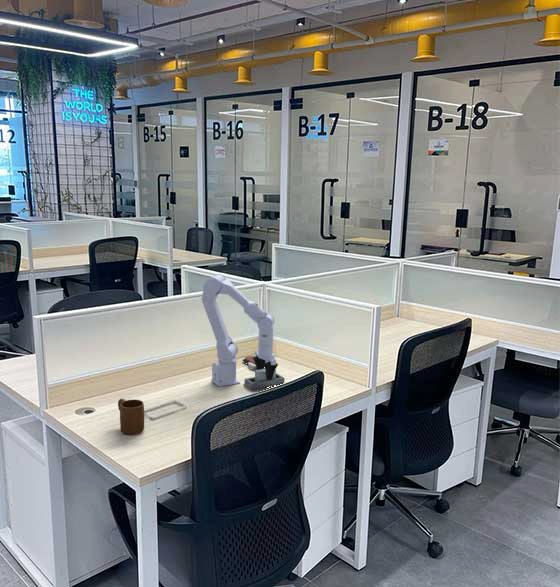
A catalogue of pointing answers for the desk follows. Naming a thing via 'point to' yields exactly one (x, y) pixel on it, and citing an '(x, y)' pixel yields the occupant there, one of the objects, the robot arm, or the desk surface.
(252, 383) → the grey rectangular tray
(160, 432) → the desk surface
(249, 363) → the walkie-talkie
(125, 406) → the mug
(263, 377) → the blue-grey block
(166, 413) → the grey rectangular frame
